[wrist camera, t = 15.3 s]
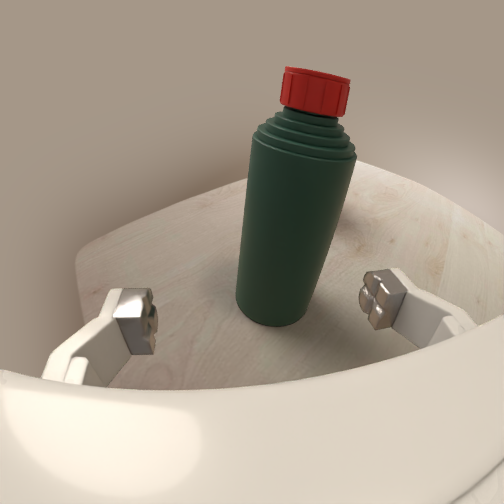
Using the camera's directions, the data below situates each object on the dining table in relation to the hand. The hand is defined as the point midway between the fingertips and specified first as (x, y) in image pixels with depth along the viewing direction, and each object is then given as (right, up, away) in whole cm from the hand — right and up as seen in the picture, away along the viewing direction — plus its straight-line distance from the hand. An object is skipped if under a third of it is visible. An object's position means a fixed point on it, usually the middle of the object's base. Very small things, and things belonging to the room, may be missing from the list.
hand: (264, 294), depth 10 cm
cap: (+3, +12, +3) cm, 13 cm away
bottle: (+1, -2, +15) cm, 15 cm away
